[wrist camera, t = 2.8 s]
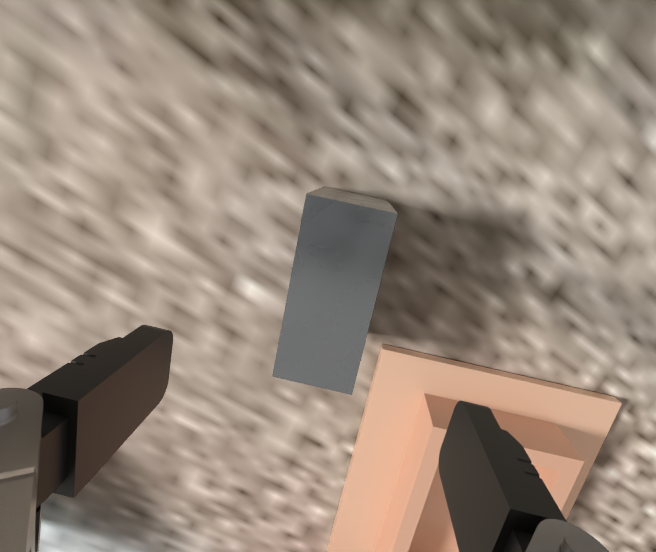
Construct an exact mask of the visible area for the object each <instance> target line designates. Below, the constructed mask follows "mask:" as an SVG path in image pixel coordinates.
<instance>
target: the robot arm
mask: <svg viewBox="0 0 656 552" xmlns="http://www.w3.org/2000/svg"><path fill="white" fill-rule="evenodd" d="M172 344H173V334H172V332H171V331H169V330H165V329H161V328H157V327H152V326H148V325H142V326H140V327H138V328H137V329H135V330H134V331H133V332H131V333H130V334H128V335H127V336H125V337H124V338H120V337H118V338H114V339H111V340H108V341H105V342H102V343H99V344H97V345H95V346H94V347H92V348H91V349H89V350H88V351H86V352H84V354H83V355H80V356H78V357H76V358H75V359H73V360H72V361H71V363H67V364H65V365H64V366H62V367H61V368H59V369H58V370H56V371H54V372H53V373H51V374H50V375H48V376H47V377H45V378H43V379H42V380H40V381H39V382H37V383H35V384H34V385H32V386H31V387H29V388H28V389H22V388H2V389H0V552H39V541H40V528H41V514H42V503H43V502H44V501H45V500H46V499H47V498H48V497H49V496H50V495H51V494H52V493H57V494H61V495H65V496H69V497H73V498H74V497H75V496H76V495H77V494H78V493H79V492H80V491H81V489H82V488H83V487H84V486H85V485H86V484H87V483H88V482H89V481H90V479H91V478H92V477H93V476H94V475H95V474H96V473H97V472H98V471H99V469H100V468H101V467H102V466H103V465H104V464H105V463H106V462H107V461H108V459H109V458H110V457H111V456H112V455H113V454H114V453H115V452H116V451H117V449H118V448H119V447H120V446H121V445H122V444H123V443H124V442H125V441H126V439H127V438H128V437H129V436H130V435H131V434H132V433H133V432H134V431H135V429H136V428H137V427H138V426H139V425H140V424H141V423H142V422H143V421H144V419H145V418H146V417H147V416H148V415H149V414H150V413H151V412H152V411H153V409H154V408H155V407H156V406H157V405H158V404H159V403H160V401H161V399H162V398H163V396H164V394H165V391H166V388H167V385H168V379H169V371H170V362H171V353H172ZM531 462H532V461H531V459H530V458H529V456H528V454H527V453H526V451H525V449H524V447H523V446H522V445H521V444H520V443H519V442H518V441H517V440H516V439H515V438H514V437H513V436H512V435H511V434H510V433H509V432H508V431H507V430H503V429H501V428H500V426H499V424H498V422H497V420H496V418H495V417H494V415H493V413H492V411H491V409H490V408H489V407H487V406H483V405H478V404H474V403H470V402H466V401H462V400H460V401H458V402H457V404H456V406H455V408H454V411H453V414H452V416H451V419H450V422H449V425H448V428H447V431H446V434H445V437H444V440H443V443H442V446H441V449H440V454H439V474H440V478H441V482H442V486H443V490H444V494H445V498H446V502H447V506H448V510H449V514H450V518H451V522H452V526H453V529H454V533H455V537H456V541H457V545H458V549H459V552H609V551H608V550H607V549H606V548H605V547H604V546H603V545H602V544H601V543H600V542H599V541H597V540H596V539H595V538H594V537H592V536H591V535H589V534H588V533H587V532H585V531H583V530H582V529H580V528H578V527H577V526H574V525H572V524H570V523H568V522H567V521H566V519H565V518H564V516H563V514H562V512H561V511H560V509H559V507H558V506H557V504H556V502H555V500H554V499H553V497H552V495H551V494H550V492H549V490H548V489H547V487H546V485H545V483H544V482H543V480H542V478H539V473H538V471H537V470H536V468H535V466H534V465H533V464H531Z"/></svg>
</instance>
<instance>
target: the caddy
mask: <svg viewBox="0 0 656 552" xmlns="http://www.w3.org/2000/svg"><path fill="white" fill-rule="evenodd" d="M460 400H462V401H466V402H470V403H474V404H478V405H483V406H487V407H489V408H490V409H491V411H492V413H493V415H494V417H495V418H496V420H497V422H498V424H499V426H500V428H501V429H503V430H507V431H508V432H509V433H510V434H511V435H512V436H513V437H514V438H515V439H516V440H517V441H518V442H519V443H520V444H521V445H522V446H523V447H524V449H525V451H526V453H527V454H528V456H529V458H530V459H531V461H532V462H531V464H533V465H534V466H535V468H536V470H537V471H538V473H539V478H542V480H543V482H544V483H545V485H546V487H547V489H548V490H549V492H550V494H551V495H552V497H553V499H554V500H555V502H556V504H557V506H558V507H559V509H560V511H561V512H562V514H563V516H564V518H565V519H566V520H567V518H568V515H569V513H570V511H571V509H572V507H573V505H574V503H575V501H576V499H577V497H578V494H579V492H580V490H581V488H582V486H583V484H584V482H585V480H586V478H587V476H588V474H589V471H590V469H591V467H592V465H593V463H594V461H595V459H596V457H597V455H598V453H599V450H600V448H601V446H602V444H603V442H604V440H605V438H606V436H607V434H608V432H609V430H610V427H611V425H612V423H613V421H614V419H615V417H616V415H617V413H618V411H619V409H620V406H621V404H622V403H621V402H620V401H619V400H618V399H616V398H615V397H614V396H609V395H605V394H601V393H596V392H592V391H587V390H583V389H578V388H574V387H570V386H565V385H561V384H556V383H552V382H548V381H543V380H539V379H534V378H530V377H526V376H521V375H517V374H512V373H508V372H503V371H499V370H495V369H490V368H486V367H481V366H477V365H473V364H468V363H464V362H459V361H455V360H451V359H446V358H442V357H437V356H433V355H429V354H424V353H420V352H415V351H411V350H406V349H402V348H398V347H393V346H389V345H384V344H382V345H381V349H380V353H379V357H378V360H377V364H376V368H375V372H374V375H373V379H372V383H371V387H370V390H369V394H368V398H367V401H366V405H365V409H364V413H363V416H362V420H361V424H360V428H359V431H358V435H357V439H356V443H355V446H354V450H353V454H352V458H351V461H350V465H349V469H348V472H347V476H346V480H345V484H344V487H343V491H342V495H341V499H340V502H339V506H338V510H337V514H336V517H335V521H334V525H333V529H332V532H331V536H330V540H329V544H328V547H327V551H326V552H459V549H458V545H457V541H456V537H455V533H454V529H453V526H452V522H451V518H450V514H449V510H448V506H447V502H446V498H445V494H444V490H443V486H442V482H441V478H440V474H439V454H440V449H441V446H442V443H443V440H444V437H445V434H446V431H447V428H448V425H449V422H450V419H451V416H452V414H453V411H454V408H455V406H456V404H457V402H458V401H460Z"/></svg>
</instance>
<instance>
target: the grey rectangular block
mask: <svg viewBox="0 0 656 552" xmlns="http://www.w3.org/2000/svg"><path fill="white" fill-rule="evenodd" d="M397 215H398V213H397V212H396V211H395V209H394V208H393V207H392V206H391V205H390V203H389V202H388V201H387V200H384V199H380V198H375V197H370V196H366V195H361V194H356V193H352V192H347V191H342V190H338V189H333V188H329V187H322V188H319V189H317V190H314V191H312V192H309V193H307V194H306V199H305V204H304V209H303V215H302V220H301V225H300V231H299V236H298V242H297V247H296V252H295V258H294V263H293V268H292V274H291V279H290V284H289V290H288V295H287V301H286V306H285V311H284V317H283V322H282V327H281V333H280V338H279V343H278V349H277V354H276V360H275V365H274V370H273V377H277V378H281V379H286V380H290V381H294V382H299V383H303V384H307V385H312V386H316V387H320V388H325V389H329V390H333V391H338V392H342V393H346V394H351V395H352V392H353V388H354V384H355V380H356V376H357V372H358V369H359V365H360V361H361V357H362V353H363V349H364V345H365V341H366V337H367V333H368V329H369V325H370V321H371V317H372V313H373V310H374V306H375V302H376V298H377V294H378V290H379V286H380V282H381V278H382V274H383V270H384V266H385V262H386V258H387V254H388V250H389V247H390V243H391V239H392V235H393V231H394V227H395V223H396V219H397Z"/></svg>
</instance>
